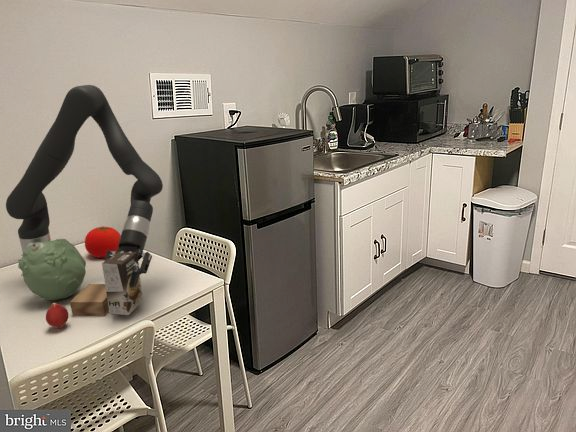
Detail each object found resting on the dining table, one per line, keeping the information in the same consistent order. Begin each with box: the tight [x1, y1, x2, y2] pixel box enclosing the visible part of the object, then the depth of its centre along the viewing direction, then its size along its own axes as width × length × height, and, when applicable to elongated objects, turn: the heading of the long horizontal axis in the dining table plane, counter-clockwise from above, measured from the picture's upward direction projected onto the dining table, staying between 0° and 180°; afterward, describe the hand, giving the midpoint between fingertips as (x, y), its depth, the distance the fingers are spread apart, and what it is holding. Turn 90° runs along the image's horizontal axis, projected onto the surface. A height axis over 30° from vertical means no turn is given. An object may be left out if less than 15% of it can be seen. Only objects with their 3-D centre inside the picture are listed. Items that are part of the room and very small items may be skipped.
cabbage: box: [17, 238, 87, 301], centre depth 149 cm, size 16×19×20 cm
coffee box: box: [101, 252, 144, 316], centre depth 137 cm, size 9×6×16 cm
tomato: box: [84, 225, 121, 259], centre depth 184 cm, size 13×14×12 cm
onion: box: [45, 302, 69, 329], centre depth 132 cm, size 6×6×8 cm
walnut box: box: [69, 283, 110, 317], centre depth 144 cm, size 10×12×5 cm
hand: (120, 285), depth 136 cm, fingers closed on coffee box, 6 cm apart
